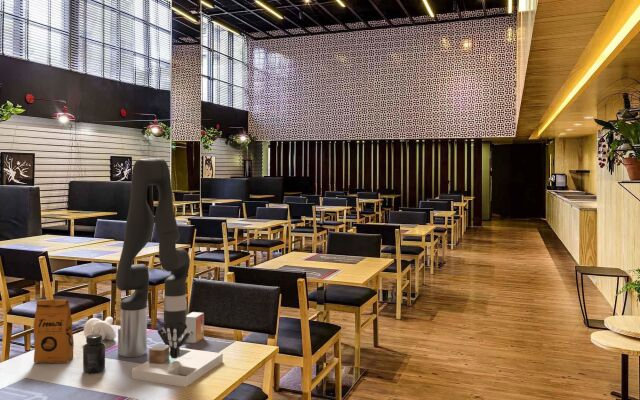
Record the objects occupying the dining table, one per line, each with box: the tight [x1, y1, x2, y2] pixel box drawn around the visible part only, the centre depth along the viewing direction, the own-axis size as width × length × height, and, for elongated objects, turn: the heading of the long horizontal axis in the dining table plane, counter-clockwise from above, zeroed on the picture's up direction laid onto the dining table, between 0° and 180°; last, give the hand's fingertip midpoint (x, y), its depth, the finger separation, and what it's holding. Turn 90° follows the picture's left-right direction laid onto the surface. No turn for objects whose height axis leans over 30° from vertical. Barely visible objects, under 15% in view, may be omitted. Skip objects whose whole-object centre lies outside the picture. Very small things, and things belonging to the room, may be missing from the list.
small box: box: [182, 311, 205, 344], centre depth 205 cm, size 8×6×10 cm
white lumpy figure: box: [83, 316, 117, 341], centre depth 202 cm, size 11×12×9 cm
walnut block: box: [148, 345, 170, 364], centre depth 172 cm, size 5×5×4 cm
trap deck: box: [131, 347, 223, 388], centre depth 173 cm, size 20×24×3 cm
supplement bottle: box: [82, 334, 106, 375], centre depth 170 cm, size 7×7×12 cm
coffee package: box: [33, 299, 75, 364], centre depth 179 cm, size 10×12×22 cm
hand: (174, 357), depth 173 cm, fingers closed
